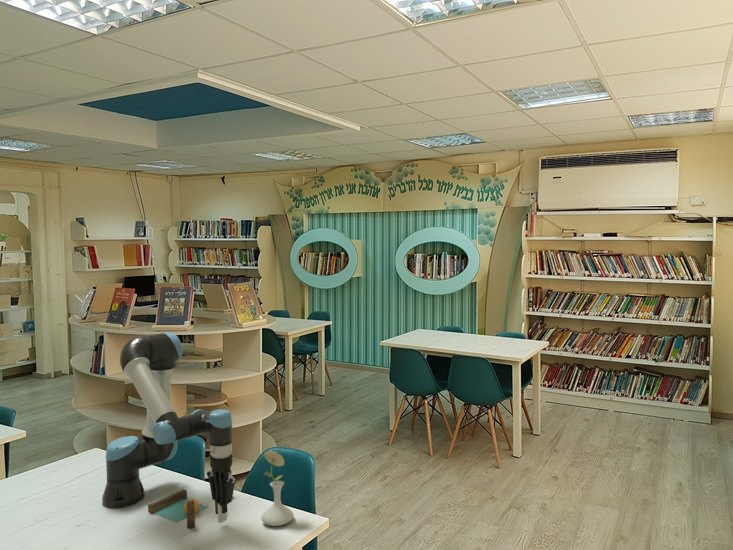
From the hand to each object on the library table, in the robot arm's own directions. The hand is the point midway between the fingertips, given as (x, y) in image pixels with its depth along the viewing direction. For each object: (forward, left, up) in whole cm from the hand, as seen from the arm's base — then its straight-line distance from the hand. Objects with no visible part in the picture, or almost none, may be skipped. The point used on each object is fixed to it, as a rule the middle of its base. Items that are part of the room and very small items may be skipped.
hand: (222, 520), depth 194 cm
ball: (-16, 0, +1) cm, 16 cm away
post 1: (-9, -6, -2) cm, 11 cm away
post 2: (-9, +6, -2) cm, 11 cm away
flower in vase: (+13, +14, -2) cm, 19 cm away
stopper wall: (-30, 0, -2) cm, 30 cm away
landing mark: (-23, 0, -2) cm, 23 cm away
